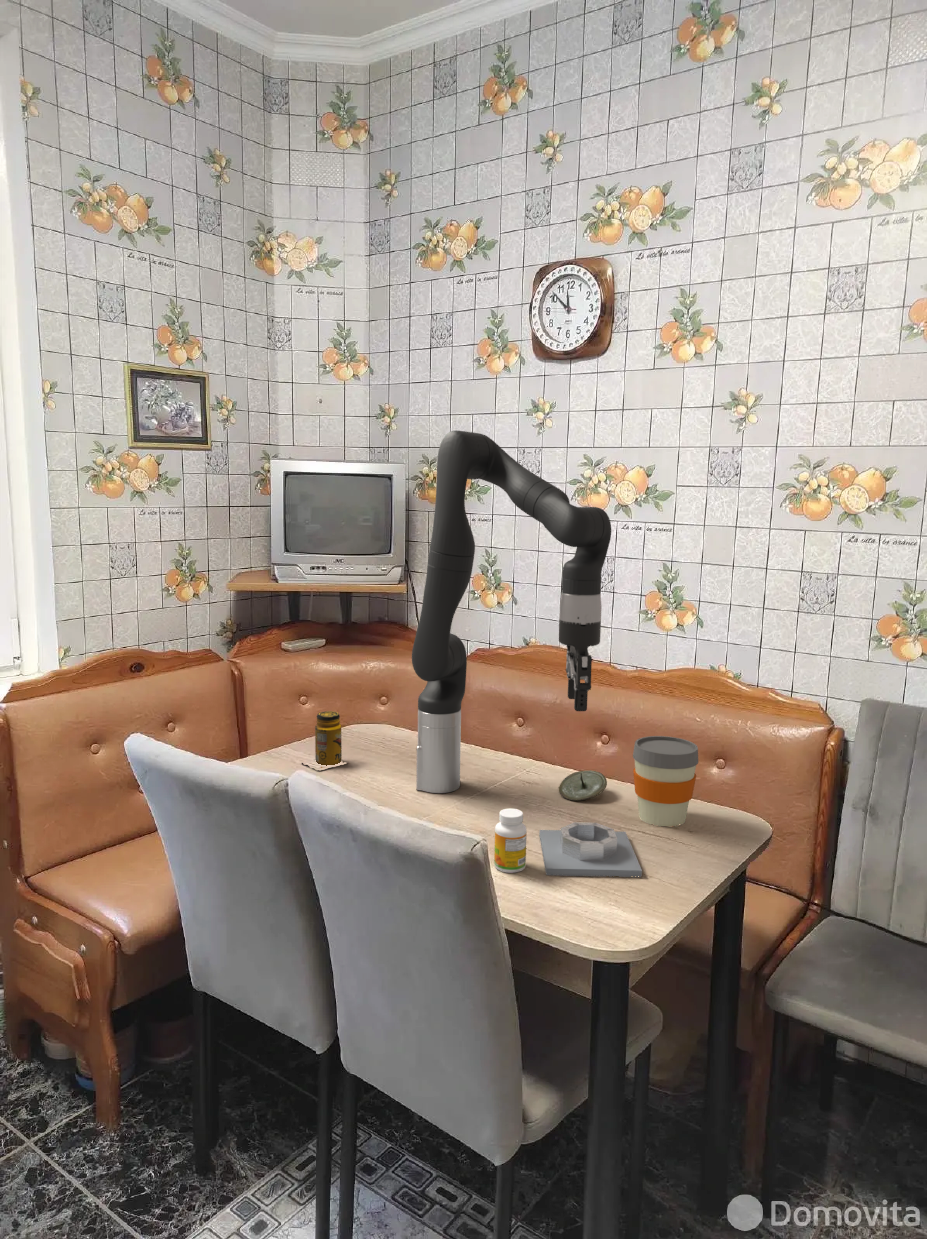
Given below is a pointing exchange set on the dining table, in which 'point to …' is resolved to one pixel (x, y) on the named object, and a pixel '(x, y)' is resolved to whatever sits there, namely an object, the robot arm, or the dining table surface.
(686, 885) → the dining table surface
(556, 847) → the hub plate
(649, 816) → the reusable coffee cup
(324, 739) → the condiment
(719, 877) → the dining table surface
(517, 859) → the supplement bottle
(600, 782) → the lid
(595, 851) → the steel collar
